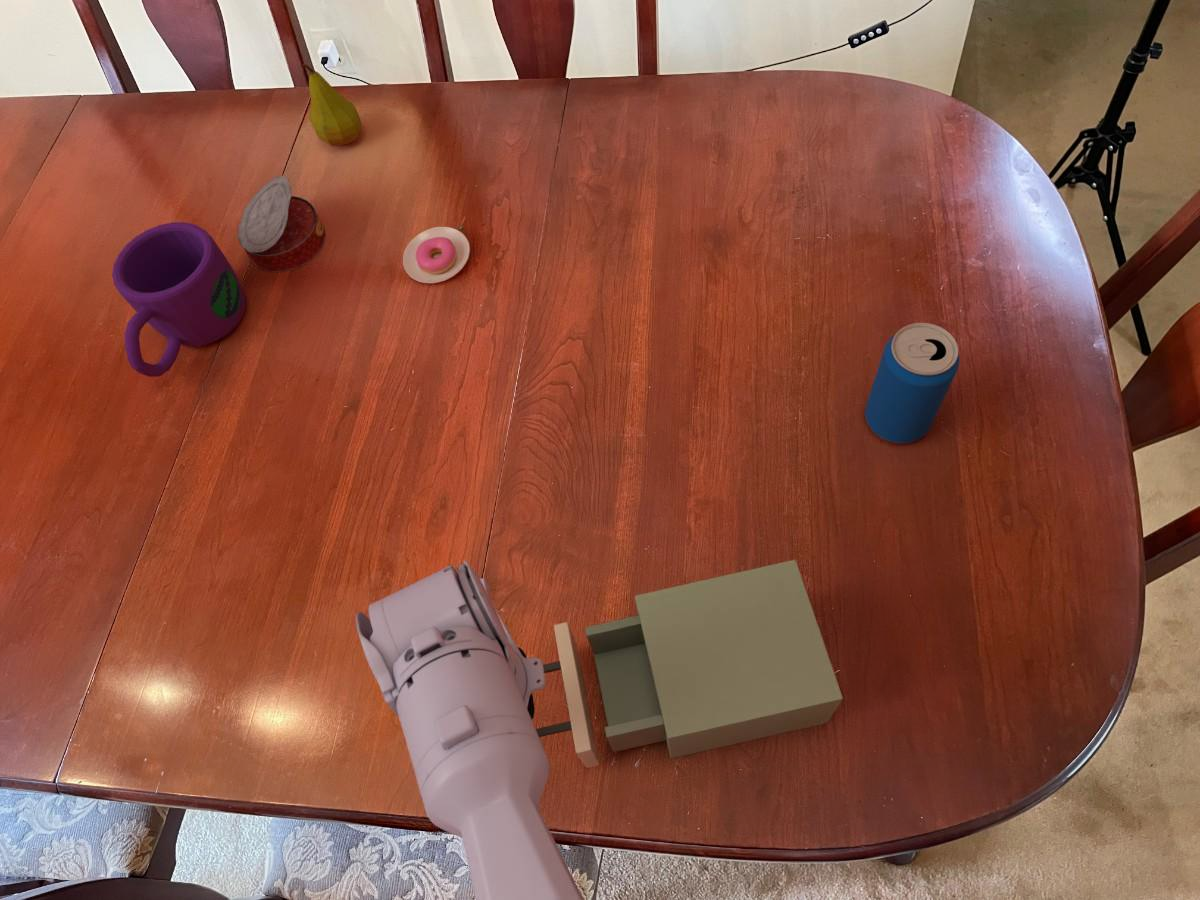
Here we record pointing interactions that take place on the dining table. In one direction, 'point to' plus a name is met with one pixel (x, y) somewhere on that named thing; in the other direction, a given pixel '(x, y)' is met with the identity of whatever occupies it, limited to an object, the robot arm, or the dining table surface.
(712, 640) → the cabinet
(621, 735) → the drawer
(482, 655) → the robot arm
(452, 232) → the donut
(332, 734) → the dining table surface
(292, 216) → the canned food
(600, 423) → the dining table surface
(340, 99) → the fruit
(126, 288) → the mug
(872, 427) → the beverage can
